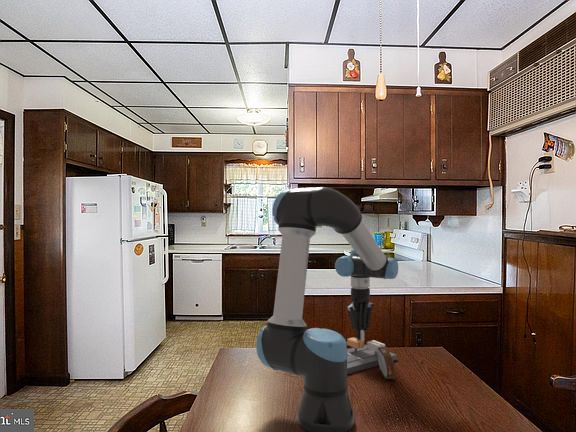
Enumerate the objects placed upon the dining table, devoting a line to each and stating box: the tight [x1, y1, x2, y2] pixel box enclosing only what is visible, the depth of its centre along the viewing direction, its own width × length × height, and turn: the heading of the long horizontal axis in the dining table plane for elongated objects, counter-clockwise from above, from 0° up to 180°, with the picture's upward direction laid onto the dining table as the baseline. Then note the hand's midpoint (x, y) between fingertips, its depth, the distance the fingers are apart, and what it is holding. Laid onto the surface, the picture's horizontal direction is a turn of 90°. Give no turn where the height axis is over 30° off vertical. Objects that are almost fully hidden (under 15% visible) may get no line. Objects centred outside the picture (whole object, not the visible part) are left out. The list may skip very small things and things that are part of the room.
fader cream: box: [366, 339, 386, 355], centre depth 146 cm, size 4×6×4 cm, turn 32°
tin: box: [378, 346, 395, 380], centre depth 133 cm, size 15×3×8 cm, turn 178°
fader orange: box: [346, 336, 365, 352], centre depth 150 cm, size 4×6×4 cm, turn 32°
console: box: [347, 344, 398, 375], centre depth 145 cm, size 30×15×3 cm, turn 122°
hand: (360, 346), depth 151 cm, fingers closed
